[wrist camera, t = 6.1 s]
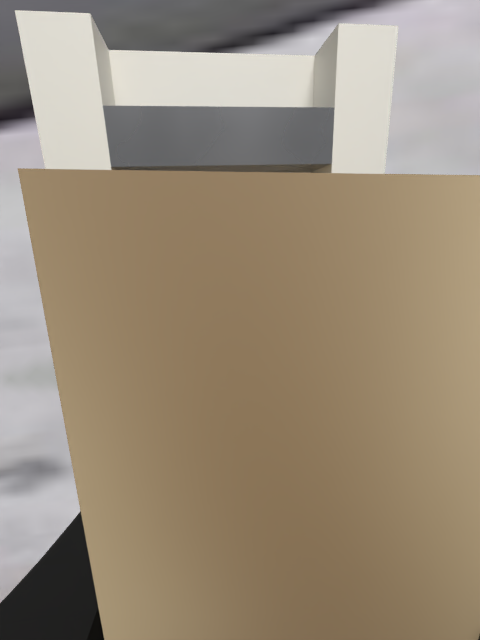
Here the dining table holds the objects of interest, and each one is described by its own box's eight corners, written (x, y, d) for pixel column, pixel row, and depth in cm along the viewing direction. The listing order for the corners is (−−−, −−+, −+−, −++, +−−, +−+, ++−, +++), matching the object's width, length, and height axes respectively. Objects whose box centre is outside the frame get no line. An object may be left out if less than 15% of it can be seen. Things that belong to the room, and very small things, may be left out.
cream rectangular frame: (325, 553, 16) (354, 625, 13) (139, 584, 15) (126, 668, 12) (356, 79, 10) (419, 26, 7) (51, 74, 9) (-13, 9, 6)
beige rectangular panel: (306, 209, 9) (619, 177, 2) (288, 542, 12) (395, 909, 6) (151, 209, 8) (-8, 167, 2) (178, 555, 12) (157, 974, 5)
